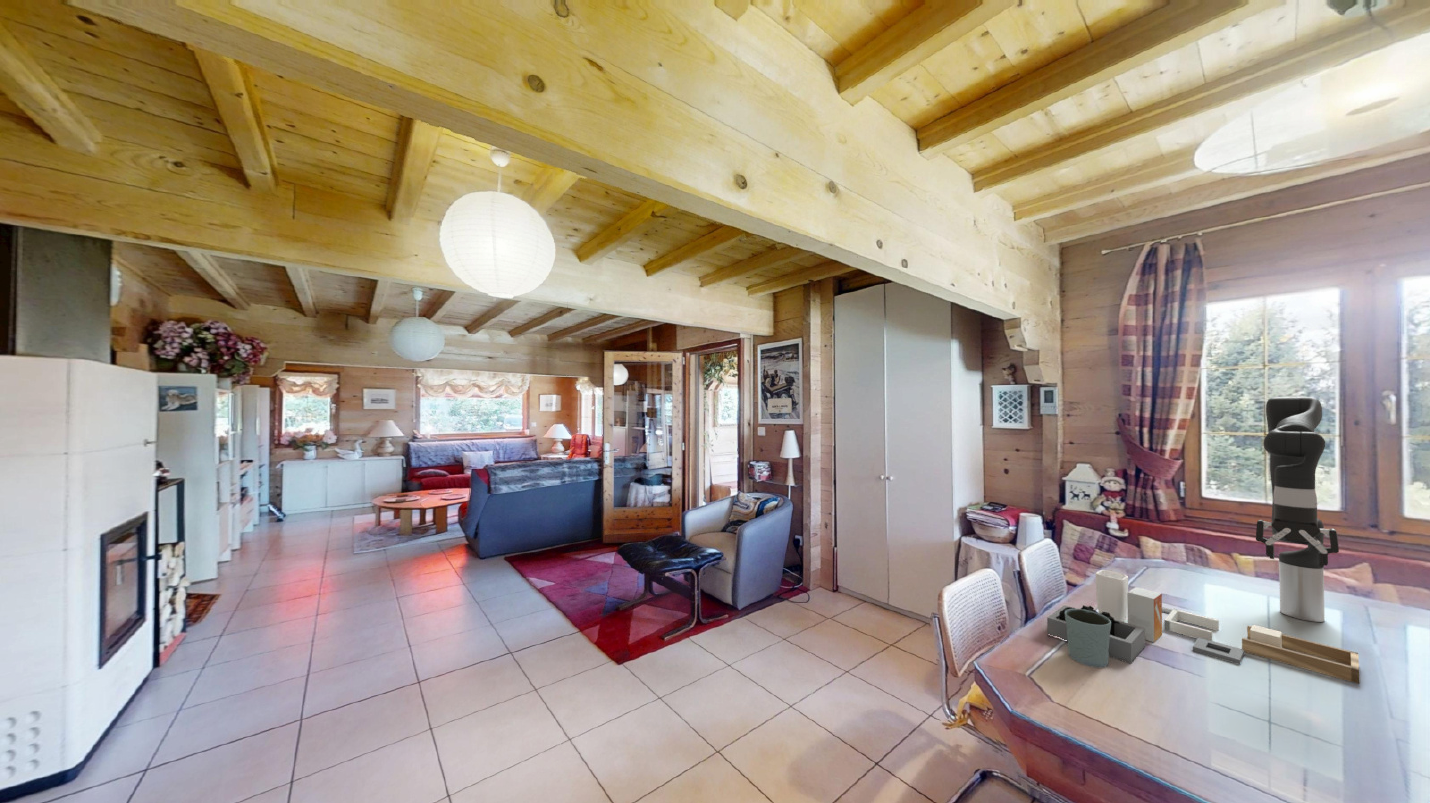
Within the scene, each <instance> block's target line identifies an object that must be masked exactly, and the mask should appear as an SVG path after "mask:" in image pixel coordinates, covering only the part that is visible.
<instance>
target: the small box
mask: <svg viewBox="0 0 1430 803" xmlns="http://www.w3.org/2000/svg"><path fill="white" fill-rule="evenodd" d="M1162 594H1163V593H1162V592H1159V591H1154V590H1150V589H1146V588H1142V587H1138V586H1135V587H1133V588H1132V589H1130V590H1128V593H1127V600H1128V605H1127V623H1128V624H1132V625H1135V626H1139V627H1142V628H1145V641H1149V642H1151V643H1152V642H1153V643H1155V642H1156V641H1157V640H1158V639H1160V637H1162V636H1163V612H1162V607H1163V603H1162V602H1163V598H1162V597H1163V595H1162Z"/></svg>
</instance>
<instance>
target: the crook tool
mask: <svg viewBox="0 0 1430 803" xmlns="http://www.w3.org/2000/svg"><path fill="white" fill-rule="evenodd" d="M1173 609H1174V608H1168V607H1163V606H1162V613H1167V614H1170V612H1171V611H1172V610H1173Z"/></svg>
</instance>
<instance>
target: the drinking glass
mask: <svg viewBox="0 0 1430 803" xmlns="http://www.w3.org/2000/svg"><path fill="white" fill-rule="evenodd" d="M1065 620H1066V625H1067V626H1066V627H1067V640H1068V642H1067V649H1068V655H1069V657H1070V658H1071V659H1072V660H1074V662H1078V663H1079V664H1081V665H1085V666H1087V665H1088V666H1087V667H1091V666H1093V667H1092V668H1098V667H1102V668H1105V666H1106V667H1108V665H1109V657H1110V656H1109V653H1108V648H1109V639H1110V629H1111V620H1110V619H1109V618H1107V617H1106V616H1104V615H1102V614H1099V612H1098V613H1096V612H1093V611H1089V610H1084V609H1081V608H1076V609H1068V610H1066V611H1065Z"/></svg>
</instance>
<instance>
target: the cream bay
mask: <svg viewBox="0 0 1430 803" xmlns="http://www.w3.org/2000/svg"><path fill="white" fill-rule="evenodd" d="M1172 609H1173V610H1172V611H1171V612H1170V613H1168V615H1167V616H1166V618H1165V619H1164V621H1163V622H1164V624H1163V625H1164V630H1165V631H1168V632H1172V633H1175V632H1177V633H1176V634H1180V635H1182V634H1183V636H1186V637H1190V638H1194V639H1196V640H1197V639H1198V637H1200V638H1204V639H1207V640H1211V641H1213V631H1212V630H1214V631H1219V630H1220V623H1219V622H1220V620H1219V619H1215V618H1213V617H1209V616H1203V615H1200V614H1198V613H1197V614H1196V613H1191V612H1188V611H1184V610H1181V609H1176V608H1172ZM1178 621H1179V622H1178ZM1182 622H1185V623H1187V624H1185V623H1182ZM1191 623H1192V624H1191ZM1193 625H1195V626H1193ZM1197 626H1199V627H1197ZM1202 626H1203V627H1202ZM1201 627H1202V628H1201ZM1204 628H1205V629H1204ZM1206 628H1207V629H1206ZM1208 629H1210V630H1208Z"/></svg>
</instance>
